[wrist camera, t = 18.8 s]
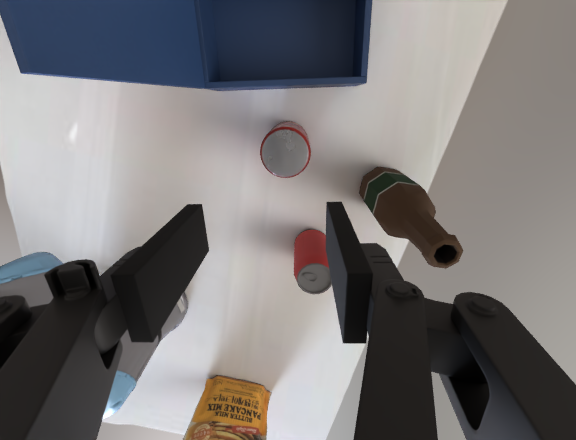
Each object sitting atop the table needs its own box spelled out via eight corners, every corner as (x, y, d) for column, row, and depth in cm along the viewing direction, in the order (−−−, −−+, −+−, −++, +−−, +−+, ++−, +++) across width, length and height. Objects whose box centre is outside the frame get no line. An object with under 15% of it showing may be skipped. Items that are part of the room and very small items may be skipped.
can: (269, 162, 49) (261, 179, 37) (267, 121, 46) (257, 127, 35) (308, 161, 48) (310, 178, 37) (307, 120, 46) (311, 126, 35)
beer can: (303, 222, 53) (305, 254, 42) (334, 236, 53) (344, 271, 42) (288, 250, 55) (286, 288, 44) (319, 263, 56) (324, 303, 45)
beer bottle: (400, 160, 48) (489, 209, 25) (405, 202, 50) (488, 280, 28) (354, 171, 49) (401, 228, 26) (361, 212, 51) (409, 294, 29)
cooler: (362, -25, 38) (375, -52, 32) (356, 86, 44) (366, 82, 37) (205, -17, 39) (186, -41, 33) (217, 90, 45) (203, 88, 38)
